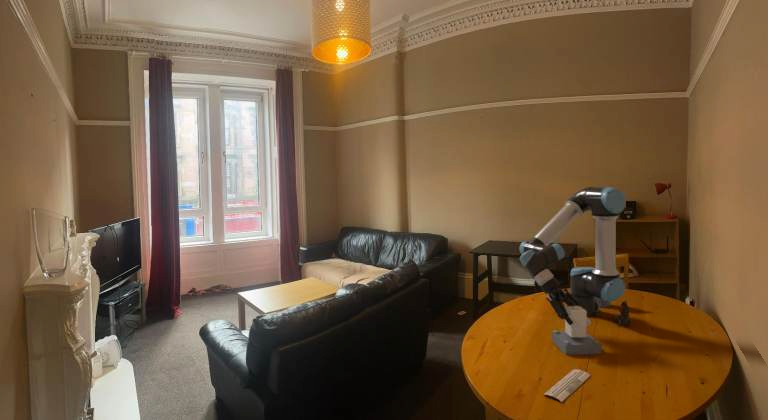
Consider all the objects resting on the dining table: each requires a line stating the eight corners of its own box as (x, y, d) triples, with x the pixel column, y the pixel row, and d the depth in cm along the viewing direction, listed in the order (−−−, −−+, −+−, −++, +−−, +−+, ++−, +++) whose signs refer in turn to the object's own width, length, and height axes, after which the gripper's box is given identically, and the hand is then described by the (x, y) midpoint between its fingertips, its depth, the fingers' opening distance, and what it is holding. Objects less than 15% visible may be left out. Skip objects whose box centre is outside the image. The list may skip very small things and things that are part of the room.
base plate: (584, 339, 176) (584, 329, 175) (600, 354, 162) (601, 343, 161) (552, 340, 176) (552, 330, 176) (565, 354, 162) (565, 343, 162)
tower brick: (579, 331, 171) (579, 304, 170) (586, 337, 165) (586, 309, 164) (565, 331, 172) (565, 304, 171) (571, 337, 166) (571, 309, 165)
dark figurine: (629, 329, 185) (630, 303, 184) (605, 324, 193) (606, 298, 191) (638, 320, 196) (639, 295, 195) (616, 316, 203) (616, 291, 202)
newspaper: (573, 372, 150) (573, 367, 149) (593, 379, 144) (593, 374, 144) (543, 397, 134) (543, 392, 134) (564, 406, 129) (564, 401, 128)
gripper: (554, 282, 185) (589, 325, 174) (528, 291, 172) (564, 339, 161) (565, 272, 181) (602, 316, 170) (539, 281, 168) (577, 330, 157)
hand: (583, 327), depth 166 cm, fingers closed on tower brick, 8 cm apart
